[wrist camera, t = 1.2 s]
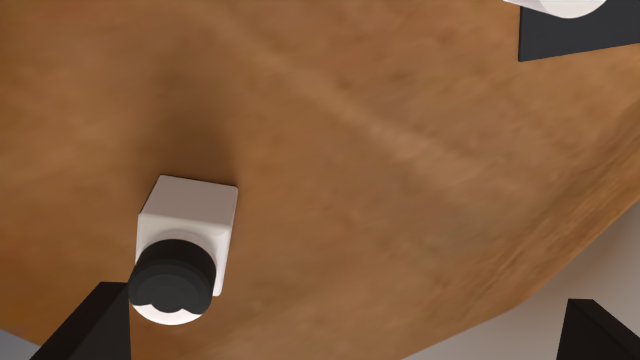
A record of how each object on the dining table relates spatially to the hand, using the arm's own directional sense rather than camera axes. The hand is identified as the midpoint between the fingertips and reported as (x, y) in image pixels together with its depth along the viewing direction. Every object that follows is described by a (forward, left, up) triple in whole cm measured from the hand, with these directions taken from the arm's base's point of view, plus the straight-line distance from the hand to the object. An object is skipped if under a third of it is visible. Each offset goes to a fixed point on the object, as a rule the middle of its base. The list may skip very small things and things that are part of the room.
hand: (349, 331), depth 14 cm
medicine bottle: (+11, -12, -29) cm, 33 cm away
